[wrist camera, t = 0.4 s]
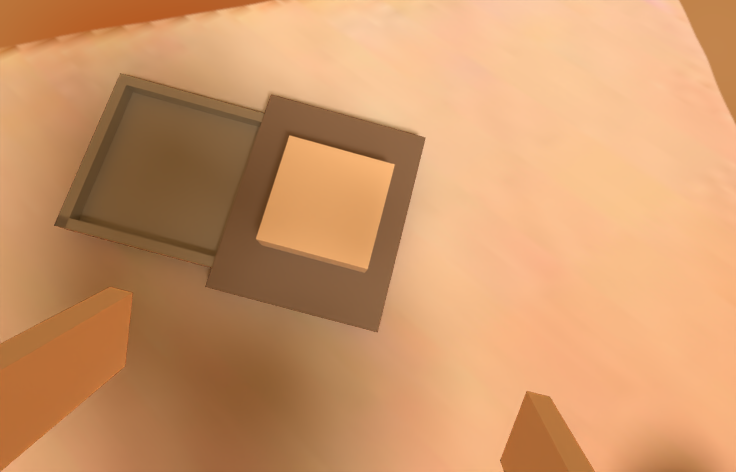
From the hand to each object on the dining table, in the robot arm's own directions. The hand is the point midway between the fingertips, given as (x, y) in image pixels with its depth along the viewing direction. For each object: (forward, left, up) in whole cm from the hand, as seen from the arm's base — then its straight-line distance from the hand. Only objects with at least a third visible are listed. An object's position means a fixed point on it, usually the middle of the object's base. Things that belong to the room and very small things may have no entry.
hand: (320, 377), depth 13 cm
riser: (+10, +3, -19) cm, 21 cm away
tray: (+10, +16, -19) cm, 26 cm away
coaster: (+10, +3, -17) cm, 20 cm away
